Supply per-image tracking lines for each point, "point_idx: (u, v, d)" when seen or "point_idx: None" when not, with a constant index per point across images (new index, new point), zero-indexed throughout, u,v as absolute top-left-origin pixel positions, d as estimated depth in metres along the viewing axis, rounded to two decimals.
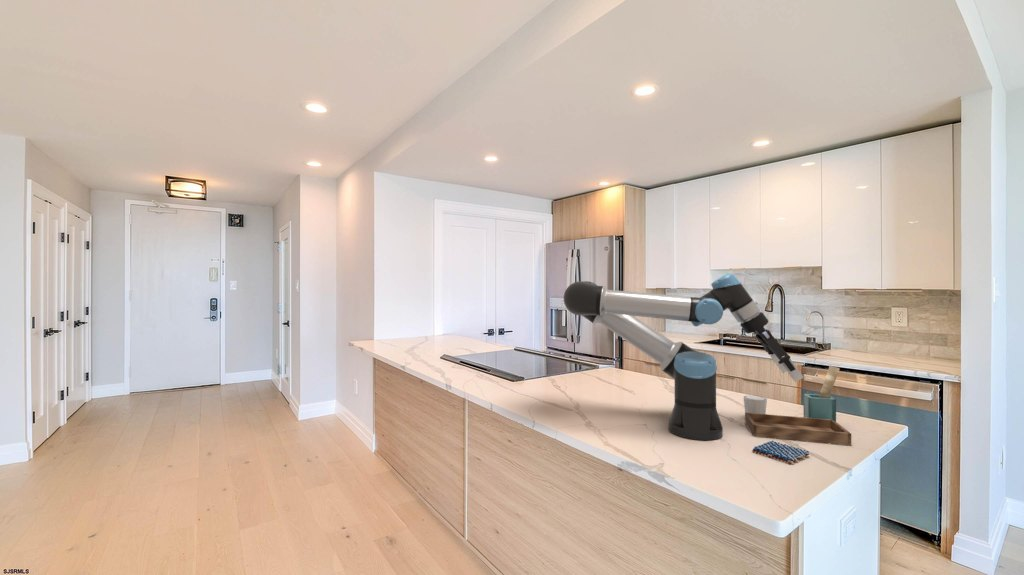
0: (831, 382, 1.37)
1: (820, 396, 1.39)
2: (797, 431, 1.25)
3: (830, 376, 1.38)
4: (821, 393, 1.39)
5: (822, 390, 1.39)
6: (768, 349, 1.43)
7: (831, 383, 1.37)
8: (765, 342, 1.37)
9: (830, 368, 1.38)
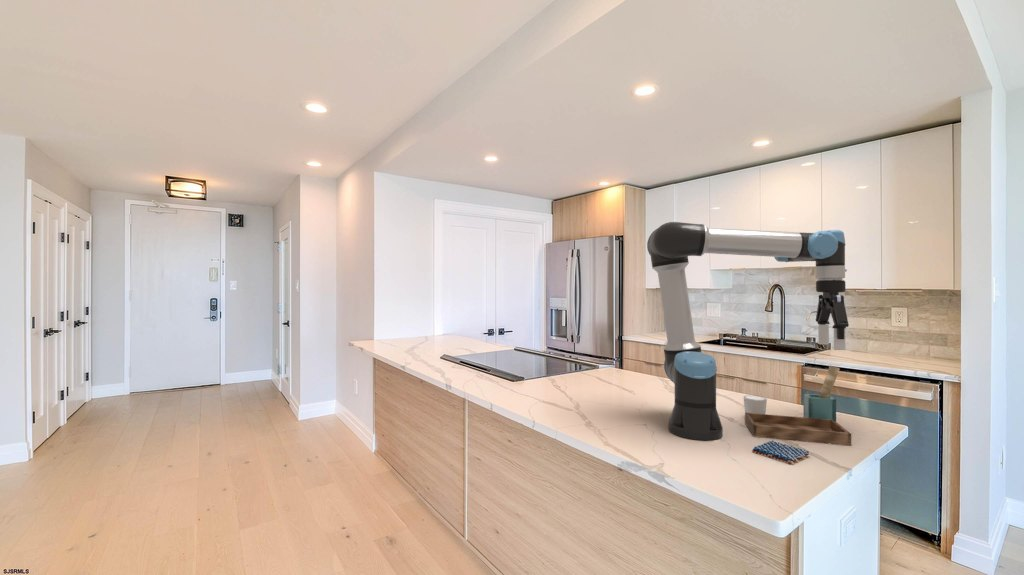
0: (831, 382, 1.37)
1: (820, 396, 1.39)
2: (797, 431, 1.25)
3: (830, 376, 1.38)
4: (821, 393, 1.39)
5: (822, 390, 1.39)
6: (821, 317, 1.44)
7: (831, 383, 1.37)
8: None
9: (830, 368, 1.38)
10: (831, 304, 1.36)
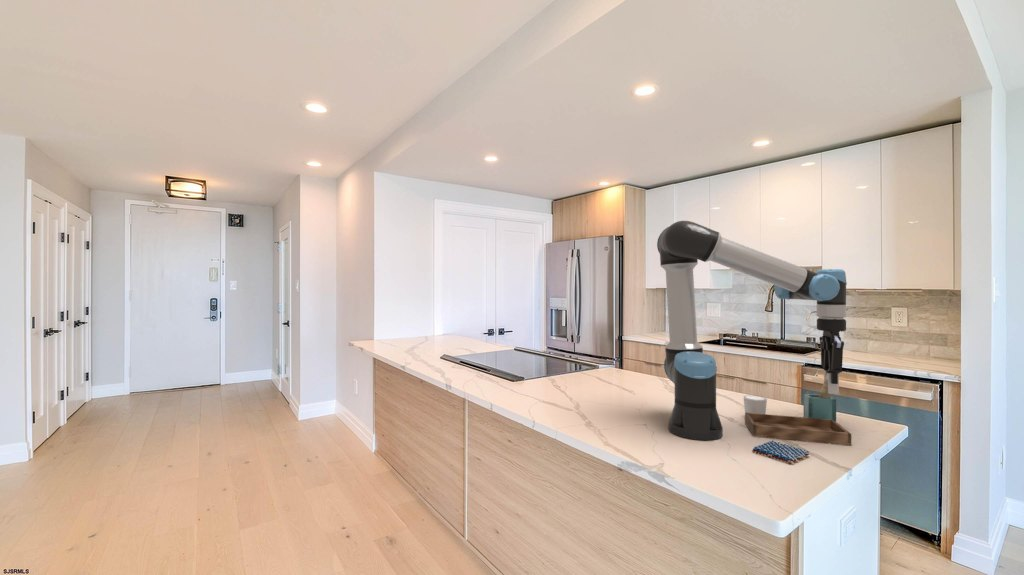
0: None
1: (820, 396, 1.39)
2: (797, 431, 1.25)
3: None
4: (821, 393, 1.39)
5: (822, 390, 1.39)
6: (826, 360, 1.40)
7: None
8: None
9: None
10: (832, 343, 1.36)
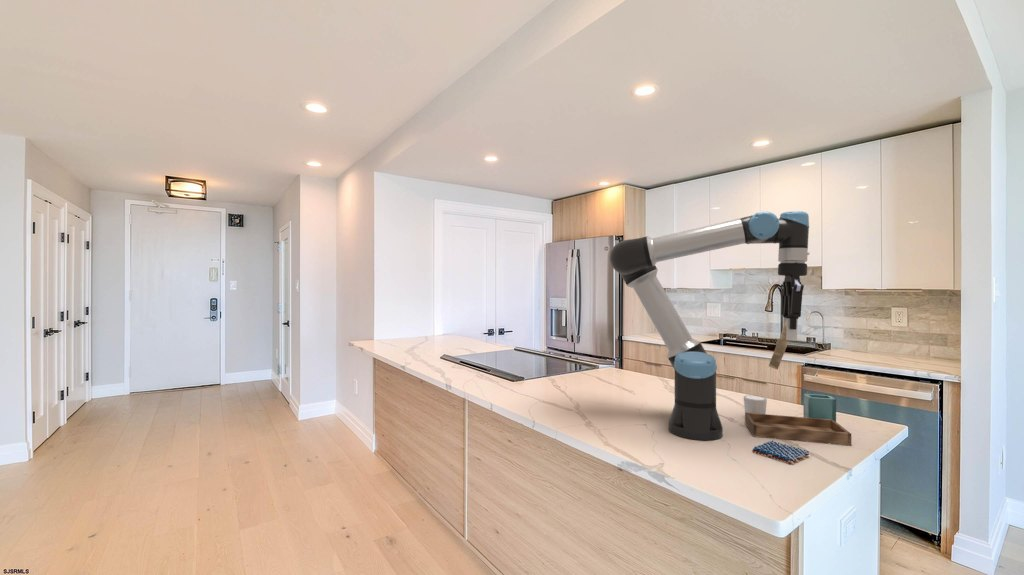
0: None
1: (778, 343, 1.35)
2: (797, 431, 1.25)
3: None
4: (780, 340, 1.35)
5: (781, 337, 1.35)
6: (786, 307, 1.36)
7: None
8: None
9: None
10: (792, 287, 1.32)
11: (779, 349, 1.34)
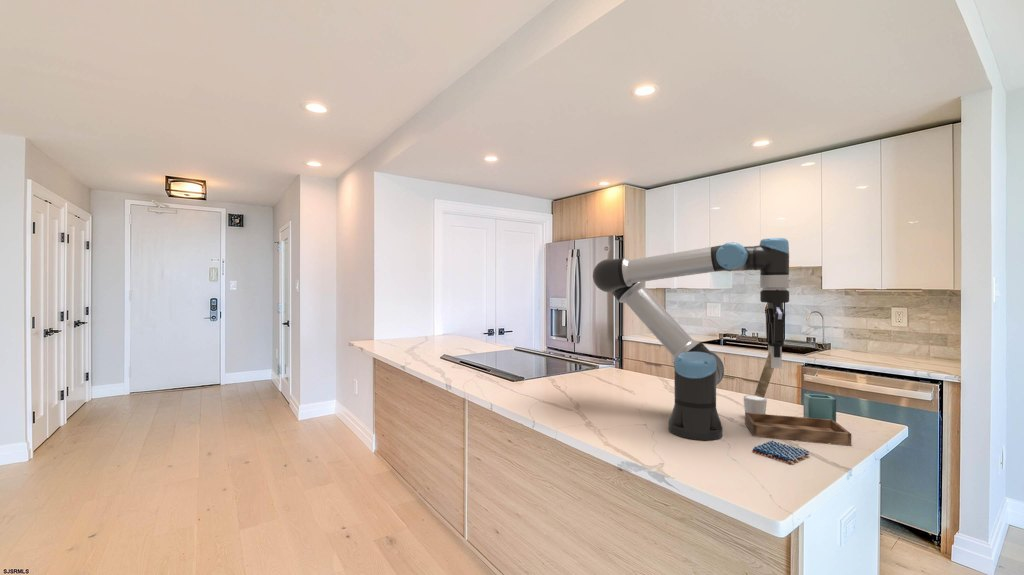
0: None
1: (763, 371, 1.33)
2: (797, 431, 1.25)
3: None
4: (764, 367, 1.33)
5: (765, 364, 1.33)
6: (770, 334, 1.35)
7: None
8: None
9: None
10: (774, 315, 1.30)
11: (764, 377, 1.33)
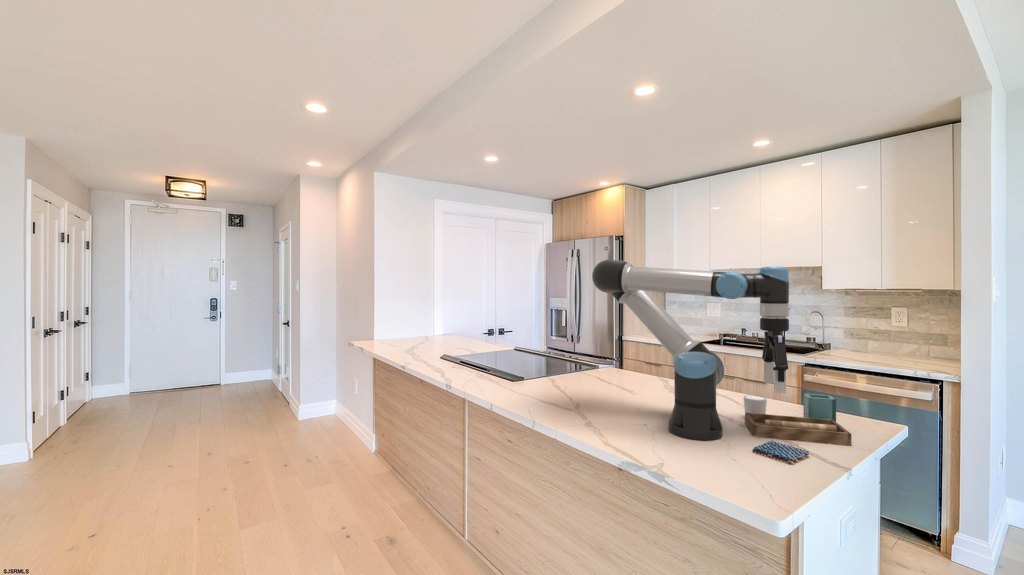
0: (817, 429, 1.29)
1: (795, 423, 1.31)
2: (797, 431, 1.25)
3: (824, 427, 1.28)
4: (799, 423, 1.31)
5: (803, 423, 1.30)
6: (767, 355, 1.39)
7: None
8: None
9: (832, 426, 1.28)
10: (773, 344, 1.30)
11: (789, 425, 1.31)
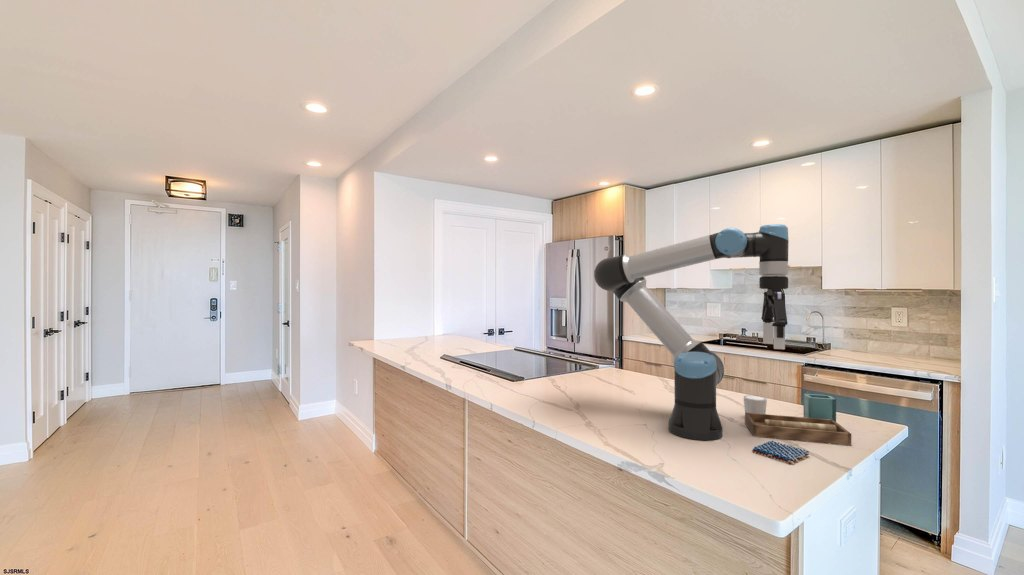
0: (816, 427, 1.29)
1: (795, 422, 1.31)
2: (797, 431, 1.25)
3: (823, 426, 1.29)
4: (798, 422, 1.31)
5: (802, 422, 1.31)
6: (766, 315, 1.39)
7: (815, 428, 1.29)
8: None
9: (832, 425, 1.29)
10: (773, 301, 1.31)
11: (789, 423, 1.31)
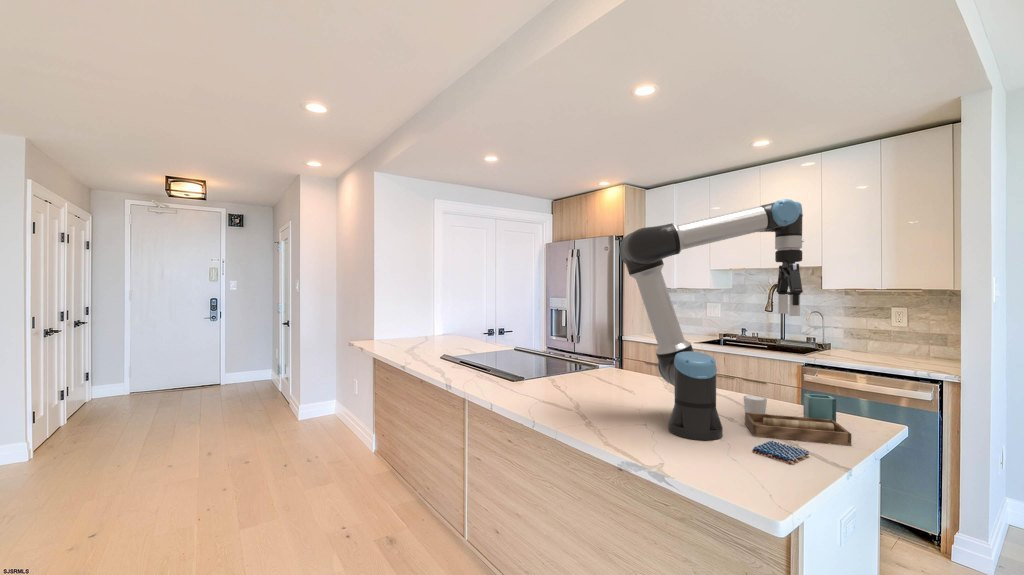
0: None
1: None
2: (797, 431, 1.25)
3: None
4: None
5: None
6: (781, 287, 1.50)
7: (812, 421, 1.32)
8: None
9: None
10: (788, 273, 1.41)
11: None
